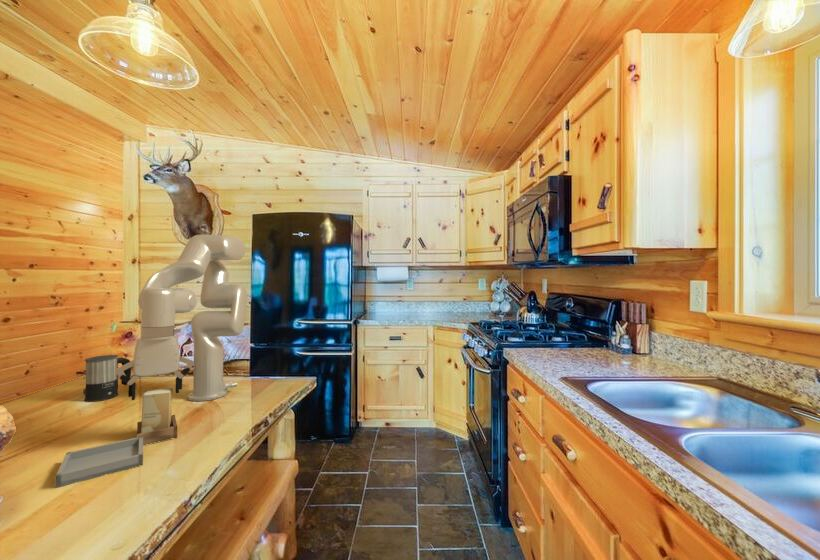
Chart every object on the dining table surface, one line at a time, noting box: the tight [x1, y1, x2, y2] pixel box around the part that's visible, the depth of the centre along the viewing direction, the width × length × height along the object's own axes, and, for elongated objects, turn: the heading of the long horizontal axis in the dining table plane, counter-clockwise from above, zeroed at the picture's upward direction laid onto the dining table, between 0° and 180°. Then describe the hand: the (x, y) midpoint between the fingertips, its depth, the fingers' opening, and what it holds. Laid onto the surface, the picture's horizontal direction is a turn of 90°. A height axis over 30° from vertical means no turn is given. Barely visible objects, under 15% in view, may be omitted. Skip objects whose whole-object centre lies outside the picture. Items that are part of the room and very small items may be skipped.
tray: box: [55, 437, 144, 488], centre depth 78 cm, size 14×12×2 cm
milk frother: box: [82, 354, 132, 403], centre depth 125 cm, size 14×16×15 cm
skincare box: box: [140, 388, 174, 434], centre depth 93 cm, size 6×4×12 cm
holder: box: [136, 414, 178, 446], centre depth 93 cm, size 9×11×3 cm
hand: (156, 395), depth 92 cm, fingers open, 9 cm apart
